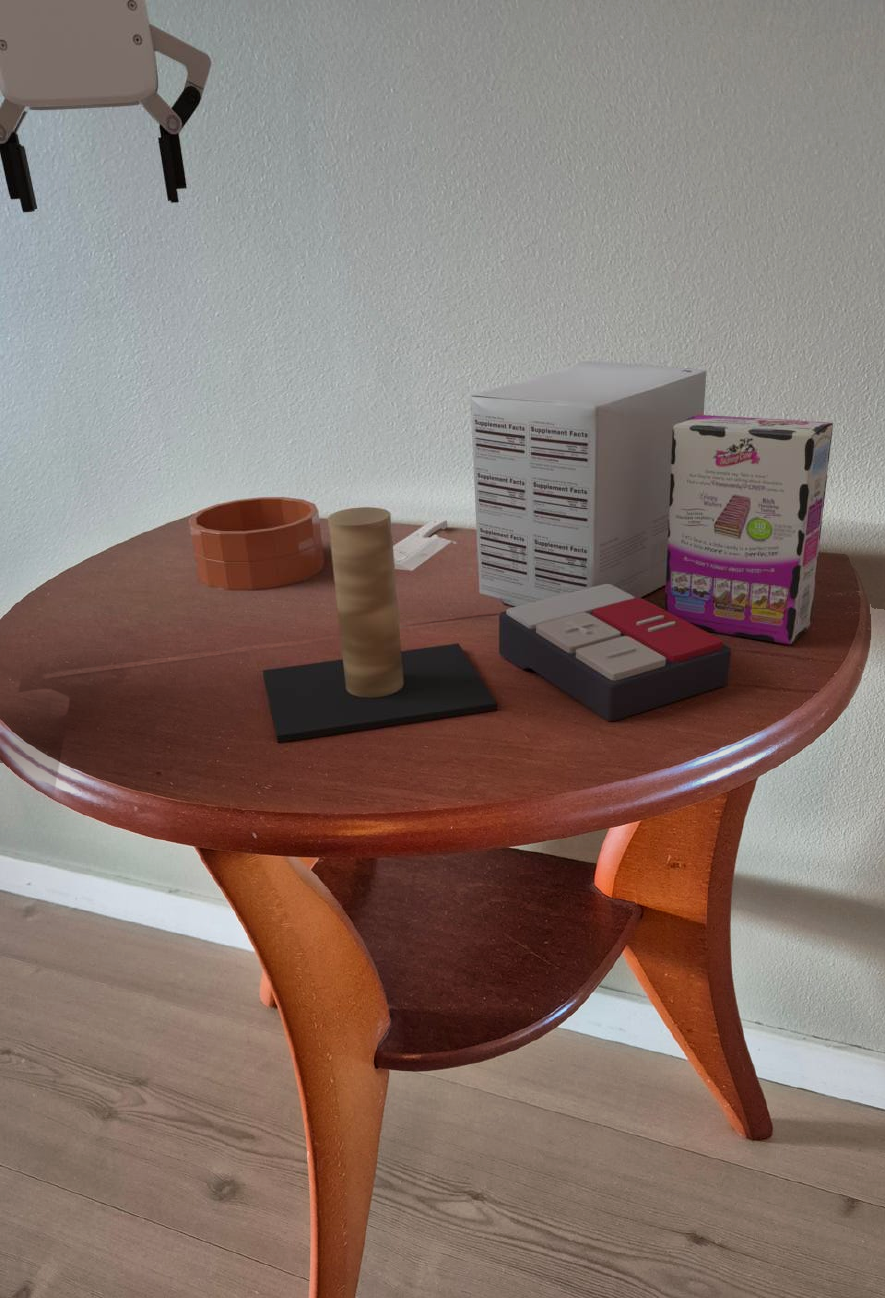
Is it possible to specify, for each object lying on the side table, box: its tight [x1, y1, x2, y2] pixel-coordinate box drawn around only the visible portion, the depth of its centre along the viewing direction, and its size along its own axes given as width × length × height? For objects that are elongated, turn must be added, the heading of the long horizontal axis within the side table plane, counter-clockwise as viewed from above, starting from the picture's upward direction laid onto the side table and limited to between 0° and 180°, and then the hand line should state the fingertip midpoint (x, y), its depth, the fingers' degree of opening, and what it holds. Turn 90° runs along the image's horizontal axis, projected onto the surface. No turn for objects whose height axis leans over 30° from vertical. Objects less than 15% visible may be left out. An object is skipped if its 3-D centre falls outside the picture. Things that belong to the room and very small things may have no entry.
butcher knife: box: [393, 518, 458, 572], centre depth 112 cm, size 5×15×1 cm, turn 155°
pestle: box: [327, 506, 404, 698], centre depth 79 cm, size 4×4×13 cm
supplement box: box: [469, 360, 707, 607], centre depth 97 cm, size 17×13×18 cm
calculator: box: [498, 584, 732, 722], centre depth 83 cm, size 11×4×15 cm
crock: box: [188, 496, 325, 592], centre depth 107 cm, size 12×12×6 cm
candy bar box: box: [663, 414, 834, 646], centre depth 86 cm, size 11×5×16 cm, turn 55°
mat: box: [262, 643, 499, 744], centre depth 83 cm, size 16×12×1 cm
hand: (102, 206), depth 75 cm, fingers open, 9 cm apart
